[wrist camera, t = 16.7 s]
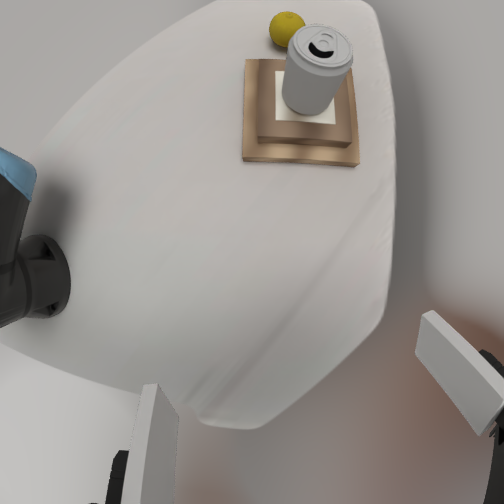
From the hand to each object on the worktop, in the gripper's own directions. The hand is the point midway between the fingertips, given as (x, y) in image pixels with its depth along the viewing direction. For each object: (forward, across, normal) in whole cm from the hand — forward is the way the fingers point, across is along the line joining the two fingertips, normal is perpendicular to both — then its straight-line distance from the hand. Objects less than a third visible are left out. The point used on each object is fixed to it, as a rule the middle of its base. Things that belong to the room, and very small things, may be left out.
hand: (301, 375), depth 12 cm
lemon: (+36, +13, +27) cm, 47 cm away
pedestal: (+32, +11, +14) cm, 37 cm away
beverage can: (+27, +11, +15) cm, 33 cm away
